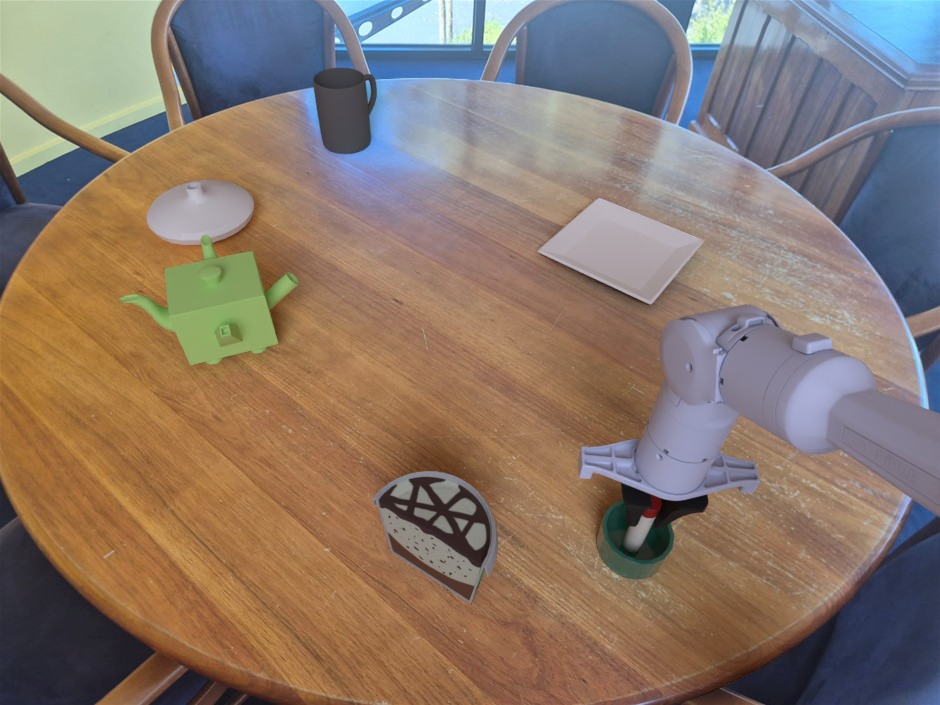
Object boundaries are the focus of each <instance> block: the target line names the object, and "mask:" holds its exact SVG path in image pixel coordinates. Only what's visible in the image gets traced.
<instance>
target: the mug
mask: <svg viewBox="0 0 940 705" xmlns="http://www.w3.org/2000/svg"><path fill="white" fill-rule="evenodd" d="M367 81H368V82H369V86H370V87H369V88H370V97H368V91H367ZM312 83H313V84H312V85H313V92H314V100H315V107H316V112H317V119H318V125H319V131H320V137H321V141H322V144H323V146H324V148H325V149H326V150H328V151H330V152H332V153H336V154H341V155H347V154H355V153H359V152H361V151H364V150H366V149H367V148H368V147H369V146H370V145H371V141H372V134H371V120H370V115H371V113H372V112H373V110H374V107H375V105H376V103H377V102H376V101H377V98H378V86H377V80H376V78H375V76H374V75H373V74H371V73H366V74H364V73H363V72H362V71H360V70H357V69H355V68H351V67H333V68H332V67H331V68H326V69H323V70H321V71H318V72H317V73H316V74H315V75H314V76H313V78H312ZM368 99H369V100H368Z"/></svg>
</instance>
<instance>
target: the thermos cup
mask: <svg viewBox="0 0 940 705" xmlns="http://www.w3.org/2000/svg"><path fill="white" fill-rule="evenodd" d="M628 527H629V526H628V524H627V514H626V506H625V505H624V501H623V499H621V500H618V501H616V502H614V503H612V504H611V505H610V506H609V507H608V509H606V511H605V512H604V515H603V518H602V519H601V522H600V525H599V528H598V532H597V535H596V548H597V553H598V554H599V557H600V559H601V560H602V562H603V563H604V565H606V566H607V568H608V569H610V570H611V571H612V573H615V574H616V575H618V576H620V577H622V578H624V579H625V578H626V579H629V580H644V579H648V578H650V577H653V576H654V575H656V574H657V573H658V572H659V571H660V569H661V568H662V567H663V565H664V564H665V562H666V561H667V559H668V557H669V556H670V555H671V552H672V550H673V549H674V542H675V538H676V537H675V533H674V530H673V525H672V522H671V523H670V524H668V525H667V526H665V527H664V528H662V529H655V528H654V521H653V523H652V526H651V528H650V530H649V532H648V534H647V536H646V538H645V540H644V542H643V544H642V546H641V548H640V550H639V551H637V552H629V551H627V550H626V549H625V548H624V546H623V539H624V536H625V534H626V532H627V530H628Z"/></svg>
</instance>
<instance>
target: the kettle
mask: <svg viewBox="0 0 940 705" xmlns="http://www.w3.org/2000/svg"><path fill="white" fill-rule="evenodd" d="M200 246H201V251H202V257H203V260H199V261H195V262H191V263H184V264H179V265H175V266H170V267H167V268H164V269H163V271H164V281H165V282H164V283H165V292H166V302H167V307H165V306H162V305H160V303H159V304H158V302H156V300H153V298H151V297H149V296H147V295H144V294H138V293H134V294H128V295H124V296H121V297H120V298H118V301H119V303H124V304H131V305H136V306H138V307H140V308H142V309H143V311H145V312H146V313H147V314H148V315H149V316H150V317H151V318H152V319H153V320H154V321H155V322H156V323H157V324H158V325H159V326H160V327H162V329H164V330H166V331H169V332H172V333H175V335H176V337H177V339H178V341H179V344H180V346H181V348H182V350H183V352H184V355H185V357H186V359H187V361H188V364H189V365H190V366H194V365H198V364H202V363H206V364H208V365H217V364H219V363H220V362H221V361H222V360H223V359H224V358H226V357H231V356H235V355H239V354H244V353H247V352H250V353H253V354H260V353H263V352H264V351H266V350H267V348H268V347H272V346H276V345H279V340H278V337H277V333H276V332H277V331H276V329H275V325H274V320H273V316H272V313H271V310H272V309H273V308H274V307H275V306H276V305H277V304H278V303H280V302H281V301H282V300H283V299H284V298H285V297H287V296H288V295H289V294H290V293H291V292H292V291H294V290H295V289H296V288H297V287H298V286H300V281H299V279H298V278H297V277H296V276H295V275H294V274H293V273H291V272H288V271H287V272H286V273H285V274H283V275H282V276H281V277H280V278H279V279H278V280H277V281H276V282H274V284H273V285H272V286H270V287H268V289H267V290H266V291H265V287H264V284H263V280H262V277H261V273H260V270H259V266H258V263H257V260H256V255H255V252H254V250H250V251H244V252H240V253H234V254H229V255H225V256H220V257H219V256H218V254H217V252H216V250H215V247H214V243H212V241H211V238H210V237H209V236H208V235H203V236H202V237H201V245H200Z"/></svg>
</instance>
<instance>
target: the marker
mask: <svg viewBox="0 0 940 705" xmlns="http://www.w3.org/2000/svg"><path fill="white" fill-rule="evenodd" d="M651 501H652V508H649V509H647V510H646V511H645V512H644V513H643V514H642V516H641V518H640V521H639V523H638V525H637V526H636V527H633V526H629V527H628V530H627V532H626V534H625V536H624V539H623V546H624V548H625V549H626V550H627V551H629V552H637V551H639V550H640V548H641V546H642V544H643V542H644V540H645V538H646V536H647V534H648V532H649V530H650V528H651V526H652V523H653V521H654V519H655V517H656V516H657V515H658V513H659V511H660V509H661V507H662V501H661V498H659V497H657V496H654V495H651Z"/></svg>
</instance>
